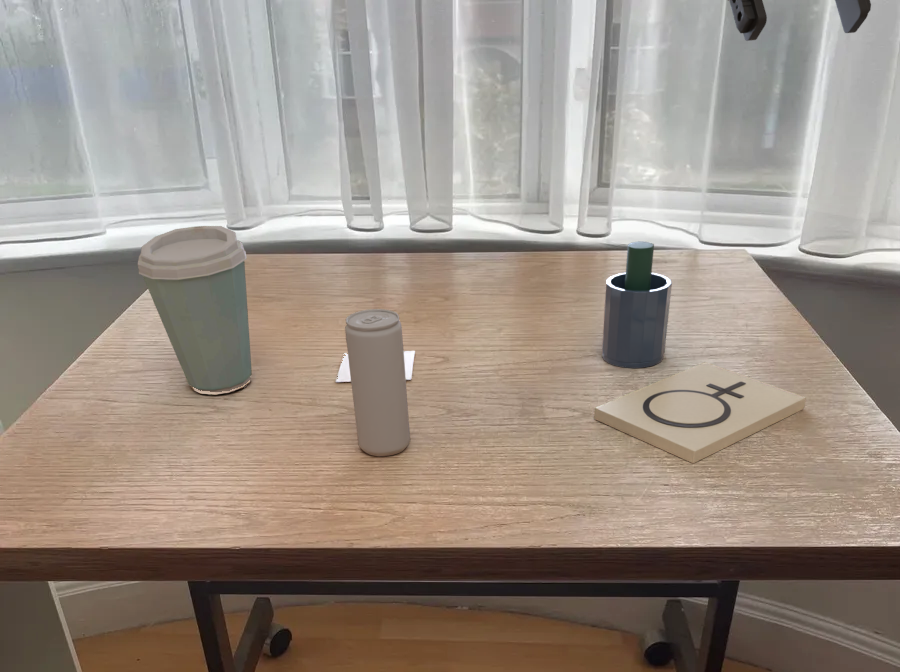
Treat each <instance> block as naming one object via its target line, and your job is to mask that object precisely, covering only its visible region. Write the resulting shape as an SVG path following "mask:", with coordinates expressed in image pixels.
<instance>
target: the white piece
mask: <svg viewBox="0 0 900 672" xmlns="http://www.w3.org/2000/svg"><path fill="white" fill-rule="evenodd" d="M347 353H348V352H344V353H343V355H344V354H345V355H346V356H343V355H342V359H341V362H342V363H341V362H340V364H339V365H340V366H339V369H338V373H337V375H336V378H335V383H344V382H345V383H347V382H350V383H351V376H350V368H349V359H348V354H347ZM415 354H416V350H404V363H405V376H406V381H409V380H412V377H413V369H414V361H415ZM343 357H344V358H343ZM342 360H343V361H342ZM337 376H338V377H337ZM337 378H338V379H337Z"/></svg>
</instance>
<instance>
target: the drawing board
mask: <svg viewBox="0 0 900 672" xmlns="http://www.w3.org/2000/svg"><path fill="white" fill-rule="evenodd" d="M806 400H807V397H806V396H803V395H800V394H797V393H795V392H792V391H789V390H786V389H783V388H780V387H778V386H775V385H772V384H769V383H767V382H763V381H761V380H758V379H756V378H752V377H749V376H747V375H743V374H741V373H738V372H736V371H732V370H730V369H727V368H724V367H721V366H718V365H715V364H712V363H709V362H707V361H704V362H700V363H698V364H696V365H693V366H692V367H691V366H690V367H689V368H687V369H684V370H681V371H680V372H676V373H675V374H672V375H670V376H667V377H665V378H663V379H660V380H658V381H655V382H653V383H650V384H648V385H646V386H644V387H640V388H638V389H636V390H634V391H631V392H628V393H627V394H625V395H622V396H619V397H617V398H614V399H611V400H609V401H608V402H605V403H602V404H600V405H597V406H595V407H594V410H593V411H594V414H593V420H596V421H598V422H600V423H602V424H605V425H606V426H609V427H611V428H613V429H615V430H618V431H620V432H622V433H624V434H627V435H629V436H631V437H634V438H636V439H638V440H639V441H643V442H644V443H646V444H649V445H651V446H653V447H656V448H657V449H660V450H662V451H664V452H667V453H669V454H671V455H674V456H676V457H678V458H680V459H682V460H684V461H687V462H688V463H691V464H696V463H697V462H699V461H702V460H703V459H705V458H707V457H709V456H712V455H714V454H715V453H717V452H719V451H722V450H723V449H726V448H728V447H730V446H731V445H733V444H736V443H737V442H740V441H742V440H744V439H746V438H748V437H750V436H752V435H754V434H756V433H758V432H761V431H762V430H764V429H766V428H768V427H770V426H772V425H774V424H776V423H778V422H781V421H782V420H784V419H786V418H788V417H790V416H792V415H795V414H797V413H799V412H800V411H803V410H804V409H805V405H806Z"/></svg>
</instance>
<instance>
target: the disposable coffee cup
mask: <svg viewBox="0 0 900 672" xmlns="http://www.w3.org/2000/svg"><path fill="white" fill-rule="evenodd" d="M244 247H245V246H244V245H243V242H242V241H240V240H238V239H237V234H236V231H234V230H232V229H229V228H227V227H225V226H222V225H197V226H188V227H180V228H175V229H172V230H169V231H166V232H164V233H162V234H161V233H160V234H159V235H155V236H154V237H153V238H151V239H150V240H149V241H146V243H144V244H143V245H142V246H141V249H140V254H139V255H138V260H137V268H138V275H141V276H142V278H143V280H144V283H145V285H146V287H147V289H148V292H149V294H150V297H151V300H152V302H153V304H154V306H155V308H156V311H157V313H158V315H159V318H160V320H161V322H162V325H163V328H164V330H165V332H166V334H167V337H168V339H169V342H170V344H171V346H172V349H173V352H174V353H175V355H176V358H177V360H178V363H179V365H180V368H181V370H182V373H183V374H184V377H185V380H186V382H187V384H188V386H190V387H191V388H192V387H194V388H196V389H198V390H200V391H201V390H202V391H210V392H222V391H230V390H232V389H235V388H238V387H241V386H243V385H244V384H246V383H247V382H248V381H249V380H250V381H251V376H252V375H253V371H252V355H251V341H250V340H251V339H250V327H249V325H250V324H249V308H248V296H247V295H248V294H247V280H246V279H247V278H246V265H245V263H246V262H245V261H246V260H247V259H248V258H247V251H246V250H245V248H244Z"/></svg>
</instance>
